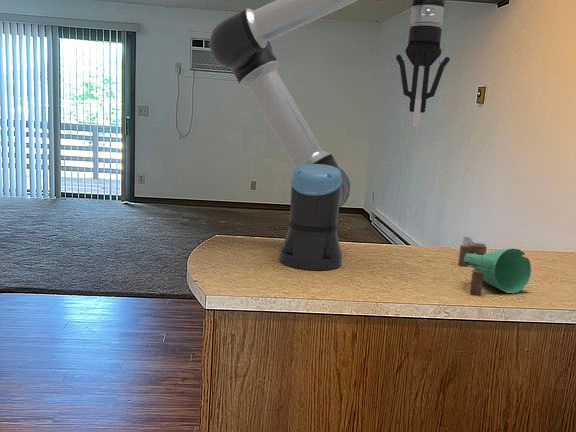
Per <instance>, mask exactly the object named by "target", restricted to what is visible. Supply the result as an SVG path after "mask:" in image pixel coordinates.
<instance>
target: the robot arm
mask: <svg viewBox="0 0 576 432" xmlns="http://www.w3.org/2000/svg"><path fill="white" fill-rule="evenodd" d="M358 1H359V0H274V1H272V2H270V3H267V4H266V5H264V6H261V7H259V8H256V9H251V8H246V9H244V10H241V11H239V12H237V13H236V14H233V15H231V16H229V17H226V18H225V19H224V20H221V21H220V22H218V24H216V26H215V27H214V29H213V30H212V31H211V34H210V38H209V50H210V52H211V55H212V56H213V58H214V59H215V61H216V62H217V63H219V65H220V66H223V67H225V68H228V69H230V70H231V72H232V74H233V76H234V77H235V78H236V80H237V82H238V84H239V85H240V87H244V88H247V89H248V90H249V91H250V92H251V95H252V97H253V98H254V99H255V101H256V103H257V105H258V107H259V108H260V111H261V112H262V114H263V115H264V117H265V120H266V121H267V122H268V124H269V125H270V127H271V129H272V131H273V133H274V134H275V137H276V138H277V139H278V141H279V143H280V145H281V147H282V148H283V150H284V151H285V153H286V155H287V157H288V158H289V160H290V162H291V164H292V165H293V171H292V177H291V180H290V181H291V182H290V185H291V193H290V209H289V221H288V222H289V224H288V231H287V233H286V236H285V238H284V241H283V244H282V246H281V249H280V252H279V261H280V262H281V263H282V264H284V265H286V266H287V267H291V268H295V269H301V270H309V271H310V270H311V271H328V270H335V269H337V268H339V267H340V268H341V266H342V263H343V254H342V250H341V247H340V246H341V244H340V242H339V237H338V224H339V223H338V222H339V209H340V208H342V206H344V204H345V203H346V202H347V200H348V199H349V197H350V193H351V181H350V178H349V176H348V174H347V173H346V172H345V170H344V169H342V168H341V167H339V164H338V162H337V161H336V159H335V158H334V156H333V154H332V153H331V152H330V151H329V152H328V151H326V150H324V149H323V148H322V147H321V145H320V144H319V142H318V140H317V139H316V137H315V135H314V133H313V131H312V130H311V128H310V126H309V124H308V122H307V121H306V120H305V118H304V116H303V114H302V113H301V111H300V109H299V107H298V105H297V104H296V102H295V101H294V99H293V97H292V95H291V93H290V92H289V89H287V88H288V87H286V85H285V83H284V82H283V80H282V78H281V76H280V75H279V72H278V67H279V61H278V59H277V58H276V55H275V54H274V53H273V52H274V51H273V47H272V43H271V41H272V40H274V39H276V38H279V37H281V36H283V35H285V34H288V33H290V32H292V31H294V30H296V29H298V28H301V27H304V26H305V25H307V24H309V23H312V22H313V21H316V20H319V19H320V18H323V17H325V16H327V15H329V14H332V13H334V12H336V11H338V10H340V9H343V8H345V7H347V6H349V5H351V4H354V3H356V2H358ZM375 1H376V2H379V1H380V0H375ZM445 1H446V0H411V2H412V4H411V10H410V11H411V12H410V20H409V21H410V25H411V26H410V28H409V33H408V42H407V46H406V48H405V51H404V52H402V53H400V54H397V55H395V59H396V61H397V63H398V65H399V70H400V78H401V84H402V85H401V86H402V92H403V95H404V96H406V97H408V98H409V100H410V101H409V107H408V109H409V112H411V113H413V116H412V127H420V120H421V118H420V117H421V114H423V113H425V112H426V107H427V100H428V99H430V98H433V97H434V96H435V95H436V93H437V89H438V86H439V83H440V82H441V81H440V80H441V79H442V74H443V72H444V70H445V67H446V66H447V64H448V63H449V62H450V60H451V59H450V57H449V56H445V54H443V53H442V48H441V39H442V38H441V37H442V28H441V26H443V20H444V11H445V3H446V2H445ZM407 58H408V60H409V61H410V64H411V65H412V66H413V69H412V81H411V88H410V90H411V91H409V86H408V80H407V71H406V65H405V62H407ZM438 58H439V60H438ZM437 60H438V64H439V66H438V67H437V71H436V74H435V77H434V79H433V81H432V84H431V88H430V90H429V92H428V88H429V77H430V69H431V67H432V65H433V64H435V62H436V61H437ZM420 67H423V77H422V78H423V79H422V87H421V96H420V97H421V98H417V97H416V96H417V89H418V78H419V69H420Z"/></svg>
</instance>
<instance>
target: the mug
mask: <svg viewBox="0 0 576 432" xmlns="http://www.w3.org/2000/svg"><path fill="white" fill-rule="evenodd" d="M524 255H526V253H525V252H524V250H523V251H522V250H521V249H518V248H512V247H509V248H502V249H496V250H494V251H493V250H492V251H489V252H486V254H484V255H480V254H476V253H466V255H465V257H464V262H465V263H466V264H467V266H470V267H473V268H474V270H482V271H483V272H484V275H483V281H485V282H486V283H488V284H489V285H490V286H491V287H494V288H495V289H498V290H500V291H502V292H503V293H506V294H515V293H519V292H520V291H522V290H524V288H525V287H526V286H527V285H528V283H529V281H530V278H531V274H532V273H531V272H532V266H531V265H532V264H531V261H530V259H529V258H528V257H526V256H524Z"/></svg>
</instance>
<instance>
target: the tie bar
mask: <svg viewBox="0 0 576 432" xmlns="http://www.w3.org/2000/svg"><path fill="white" fill-rule="evenodd" d="M462 239H463V240H462V245H465V246H467V245H468V242H470V243H474V241H473V239H472V238H471V237H470V236H463V238H462ZM476 254H480V253H476Z"/></svg>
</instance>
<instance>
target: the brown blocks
mask: <svg viewBox="0 0 576 432" xmlns="http://www.w3.org/2000/svg"><path fill="white" fill-rule="evenodd" d="M466 253H480V255H484V254H486V253H487V245H486V244H485V243H479V242H473V243H470V242H468V245H467V246H465V245H463V244H460V247H459V255H458V256H459V257H458V263H457V265H458V266H459V267H468V265H467V264H466V263H465V262H464V257H465V255H466ZM483 275H484V272H483V271H482V270H475V269H472V273H471V282H470V288H469V293H470V295H471V296H480V297H481V296H482V292H483V291H482V290H483V289H482V288H483V283H484V282H483V281H484V280H483Z"/></svg>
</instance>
